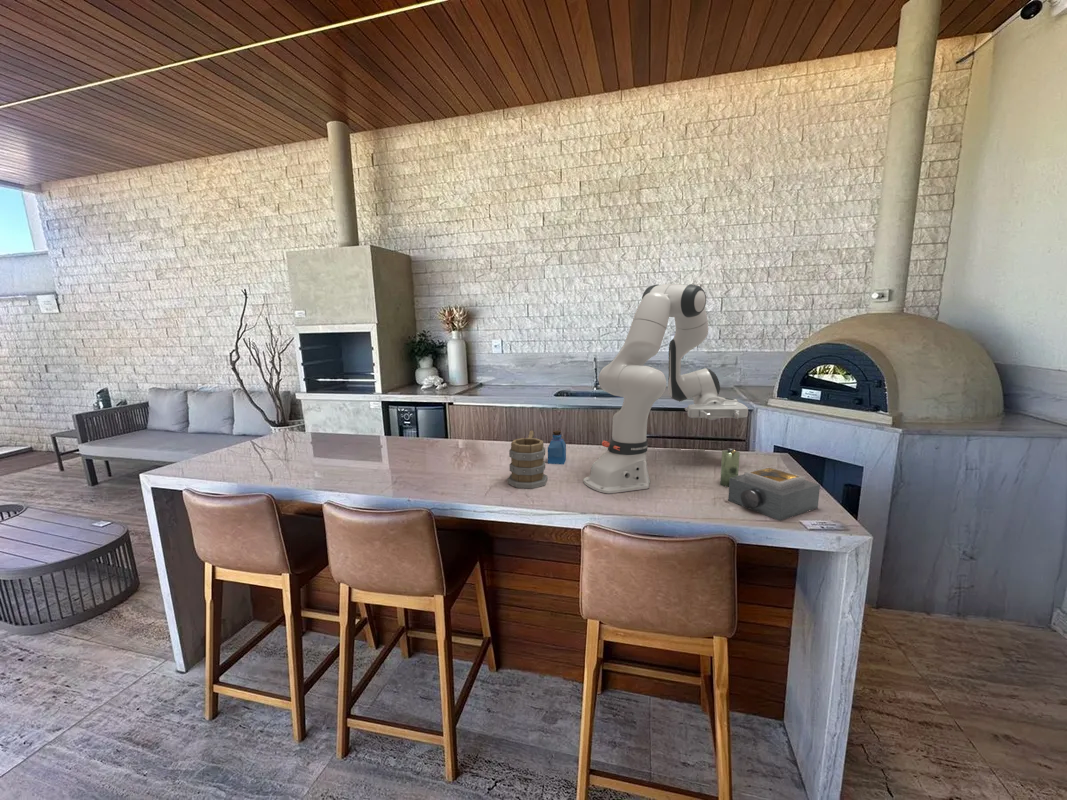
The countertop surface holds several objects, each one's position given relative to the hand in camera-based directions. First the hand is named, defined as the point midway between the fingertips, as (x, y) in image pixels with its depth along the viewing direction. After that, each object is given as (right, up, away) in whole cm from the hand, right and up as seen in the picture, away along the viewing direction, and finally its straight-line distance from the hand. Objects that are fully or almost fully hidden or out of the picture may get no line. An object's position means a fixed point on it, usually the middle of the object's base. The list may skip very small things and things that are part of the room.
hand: (722, 416), depth 151 cm
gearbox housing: (+4, -25, -25) cm, 35 cm away
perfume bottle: (-56, -18, +18) cm, 62 cm away
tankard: (-67, -22, -1) cm, 70 cm away
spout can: (-2, -22, -8) cm, 24 cm away
